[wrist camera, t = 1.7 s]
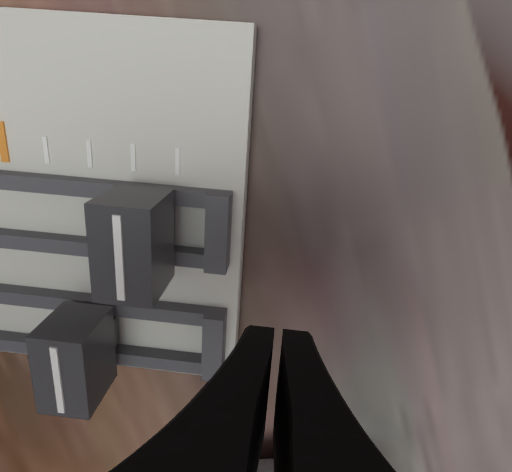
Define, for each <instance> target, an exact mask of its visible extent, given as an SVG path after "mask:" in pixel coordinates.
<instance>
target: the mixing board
mask: <svg viewBox="0 0 512 472" xmlns="http://www.w3.org/2000/svg"><path fill="white" fill-rule="evenodd" d="M256 37H257V26H256V25H255V23H246V22H230V21H214V20H199V19H183V18H167V17H152V16H136V15H120V14H104V13H89V12H73V11H57V10H41V9H26V8H10V7H0V351H5V352H13V353H21V354H28V353H27V347H26V341H25V337H26V336H27V335H28V334H29V333H30V332H31V331H32V330H33V329H35V328H36V327H37V326H38V325H39V324H40V323H41V322H42V321H43V320H44V319H45V318H46V317H47V316H48V315H49V314H51V313H52V312H53V311H54V310H55V309H56V308H57V307H58V306H59V305H60V304H61V303H62V302H63V301H69V302H78V303H87V304H96V305H105V306H113V317H118V319H119V335H120V341H119V342H118V344H117V345H116V347H115V349H116V364H117V365H121V366H130V367H138V368H146V369H155V370H163V371H171V372H180V373H188V374H196V375H201V380H203V381H209V380H210V379H211V378H212V376H213V375H214V374H215V373H216V371H217V370H218V369H219V367H220V366H221V365H222V364H223V362H224V361H225V360H226V358H227V357H228V356H229V354H230V353H231V351H232V350H233V349H234V347H235V346H236V344H237V342H238V330H239V314H240V298H241V281H242V265H243V249H244V232H245V216H246V200H247V183H248V167H249V151H250V135H251V118H252V102H253V86H254V69H255V53H256ZM117 184H126V185H137V186H148V187H159V188H170V189H174V207H175V241H174V252H175V275H174V277H173V278H172V280H171V281H170V283H169V285H168V286H167V288H166V289H165V291H164V292H163V294H162V296H161V297H160V299H159V300H158V302H157V303H156V305H155V307H154V308H153V309H145V308H136V307H127V306H118V305H109V304H100V303H92V295H91V283H90V272H89V260H88V248H87V237H86V225H85V214H84V203H85V202H87V201H89V200H91V199H92V198H94V197H96V196H98V195H99V194H101V193H103V192H105V191H106V190H108V189H110V188H112V187H113V186H115V185H117Z"/></svg>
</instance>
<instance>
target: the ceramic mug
mask: <svg viewBox="0 0 512 472" xmlns="http://www.w3.org/2000/svg"><path fill="white" fill-rule="evenodd" d="M257 472H274V459H259V464H258V469H257Z"/></svg>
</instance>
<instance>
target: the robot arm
mask: <svg viewBox="0 0 512 472" xmlns="http://www.w3.org/2000/svg"><path fill="white" fill-rule="evenodd" d="M273 339H274V328H270V327H261V326H252V325H250V326H248V327H247V328H245V330H244V332H243V334H242V336H241V338H240V339H239V341H238V342H237V344H236V346H235V347H234V349H233V350H232V351H231V353H230V354H229V356H228V357H227V358H226V360H225V361H224V362H223V364H222V365H221V366H220V367H219V369H218V370H217V371H216V373H215V374H214V375H213V376H212V378H211V379H210V380H209V381H208V382H207V383H206V384H205V386H204V387H203V388H202V389H201V390H200V391H199V392H198V393H197V395H196V396H195V397H194V398H193V399H192V400H191V401H190V402H189V403H188V404H187V405H186V406H185V407H184V408H183V409H182V410H181V411H180V412H179V413H178V414H177V415H176V416H175V417H174V418H173V419H172V420H171V421H170V422H169V423H168V424H167V425H166V426H164V427H163V428H162V429H161V430H160V431H159V432H158V433H157V434H155V435H154V436H153V437H152V438H151V439H149V440H148V441H147V442H146V443H145V444H143V445H142V446H141V447H140V448H139V449H137V450H136V451H135V452H134V453H133V454H131V455H130V456H129V457H128V458H126V459H125V460H124V461H122V462H121V463H120V464H118V465H117V466H116V467H114V468H113V469H112V470H110V471H109V472H257V469H258V464H259V459H260V453H261V448H262V443H263V438H264V431H265V421H266V411H267V401H268V390H269V380H270V370H271V360H272V350H273ZM273 457H274V472H396V471H395V470H394V469H393V468H392V466H391V465H390V464H389V463H388V461H387V460H386V459H385V458H384V456H383V455H382V454H381V452H380V451H379V450H378V449H377V447H376V446H375V445H374V443H373V442H372V441H371V439H370V438H369V437H368V435H367V434H366V432H365V431H364V430H363V428H362V427H361V425H360V424H359V422H358V421H357V419H356V418H355V416H354V415H353V413H352V412H351V410H350V409H349V407H348V405H347V404H346V402H345V401H344V399H343V397H342V396H341V394H340V392H339V390H338V389H337V387H336V385H335V383H334V382H333V380H332V378H331V376H330V375H329V373H328V371H327V369H326V367H325V365H324V363H323V361H322V359H321V357H320V355H319V352H318V350H317V348H316V345H315V343H314V340H313V337H312V336H311V334H310V333H309V332H306V331H297V330H288V329H283V336H282V345H281V355H280V364H279V373H278V383H277V392H276V403H275V416H274V430H273Z"/></svg>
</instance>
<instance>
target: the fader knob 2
mask: <svg viewBox="0 0 512 472" xmlns="http://www.w3.org/2000/svg"><path fill="white" fill-rule="evenodd" d="M84 214H85V225H86V237H87V248H88V260H89V272H90V283H91V295H92V303H100V304H109V305H118V306H127V307H136V308H145V309H153V308H154V307H155V305H156V303H157V302H158V300H159V299H160V297H161V296H162V294H163V292H164V291H165V289H166V288H167V286H168V285H169V283H170V281H171V280H172V278H173V277H174V275H175V252H174V241H175V207H174V189H170V188H159V187H148V186H137V185H126V184H117V185H115V186H113V187H112V188H110V189H108V190H106V191H105V192H103V193H101V194H99V195H98V196H96V197H94V198H92V199H91V200H89V201H87V202H85V203H84Z"/></svg>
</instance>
